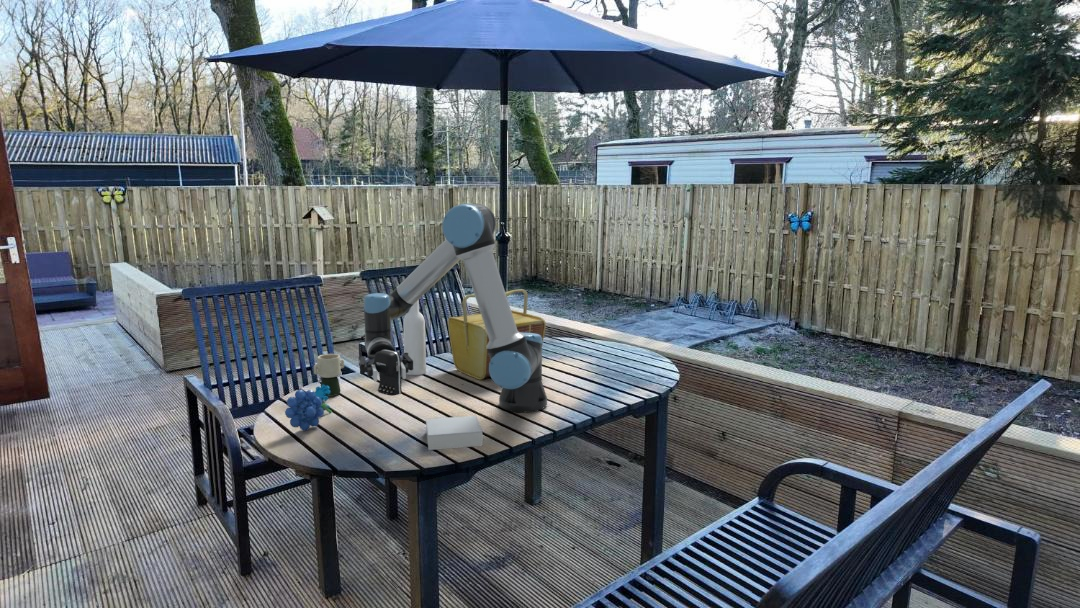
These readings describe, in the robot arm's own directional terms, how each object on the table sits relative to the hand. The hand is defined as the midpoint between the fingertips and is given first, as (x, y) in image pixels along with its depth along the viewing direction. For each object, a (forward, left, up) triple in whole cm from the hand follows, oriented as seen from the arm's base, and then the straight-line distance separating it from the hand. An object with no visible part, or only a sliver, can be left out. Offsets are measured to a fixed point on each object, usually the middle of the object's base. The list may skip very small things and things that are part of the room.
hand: (390, 375), depth 158 cm
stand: (-16, -4, -20) cm, 26 cm away
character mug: (+20, -50, -20) cm, 57 cm away
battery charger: (+1, -5, -7) cm, 8 cm away
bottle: (-8, -71, -20) cm, 74 cm away
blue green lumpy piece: (+22, -34, -20) cm, 45 cm away
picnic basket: (-38, -69, -20) cm, 81 cm away
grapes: (+23, -18, -20) cm, 35 cm away
